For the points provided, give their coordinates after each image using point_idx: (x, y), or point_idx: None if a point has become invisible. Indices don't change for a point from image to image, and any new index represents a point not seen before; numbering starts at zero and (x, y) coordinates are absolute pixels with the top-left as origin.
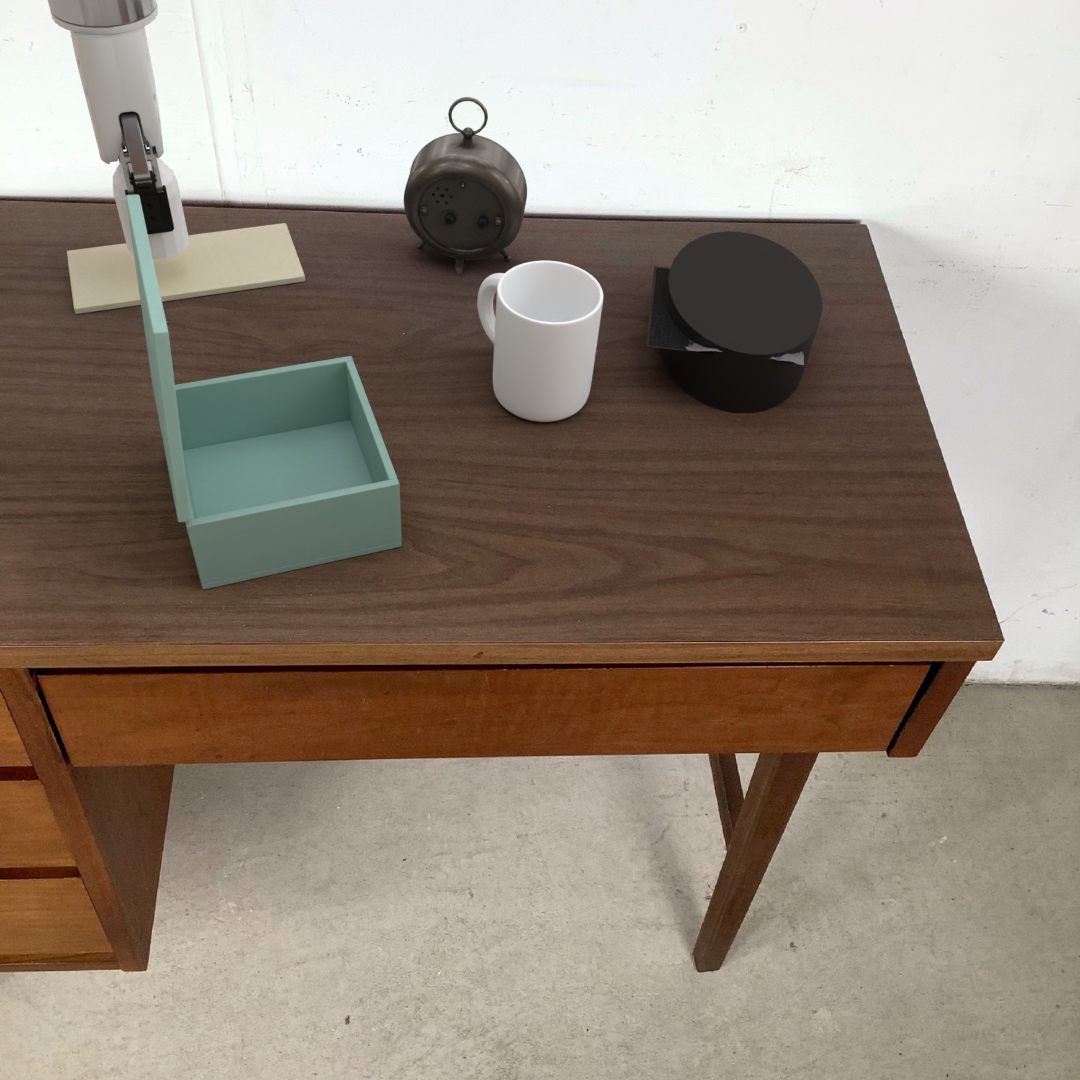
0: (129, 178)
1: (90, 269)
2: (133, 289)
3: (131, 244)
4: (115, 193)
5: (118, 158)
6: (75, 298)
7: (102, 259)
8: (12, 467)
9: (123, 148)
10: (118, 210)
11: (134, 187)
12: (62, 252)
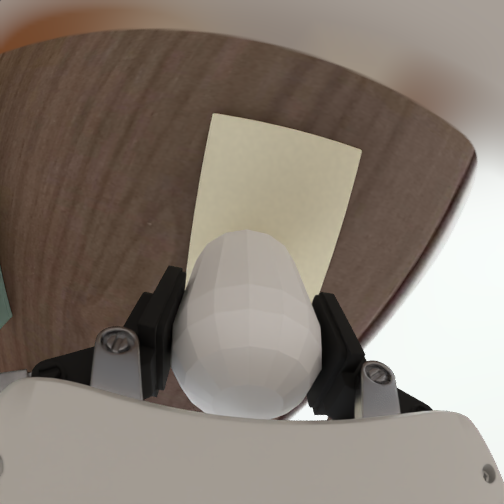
0: (42, 376)
1: (301, 162)
2: (223, 203)
3: (221, 241)
4: (239, 289)
5: (348, 347)
6: (238, 121)
7: (318, 186)
8: (24, 48)
9: (357, 374)
10: (244, 263)
11: (41, 362)
12: (370, 146)
